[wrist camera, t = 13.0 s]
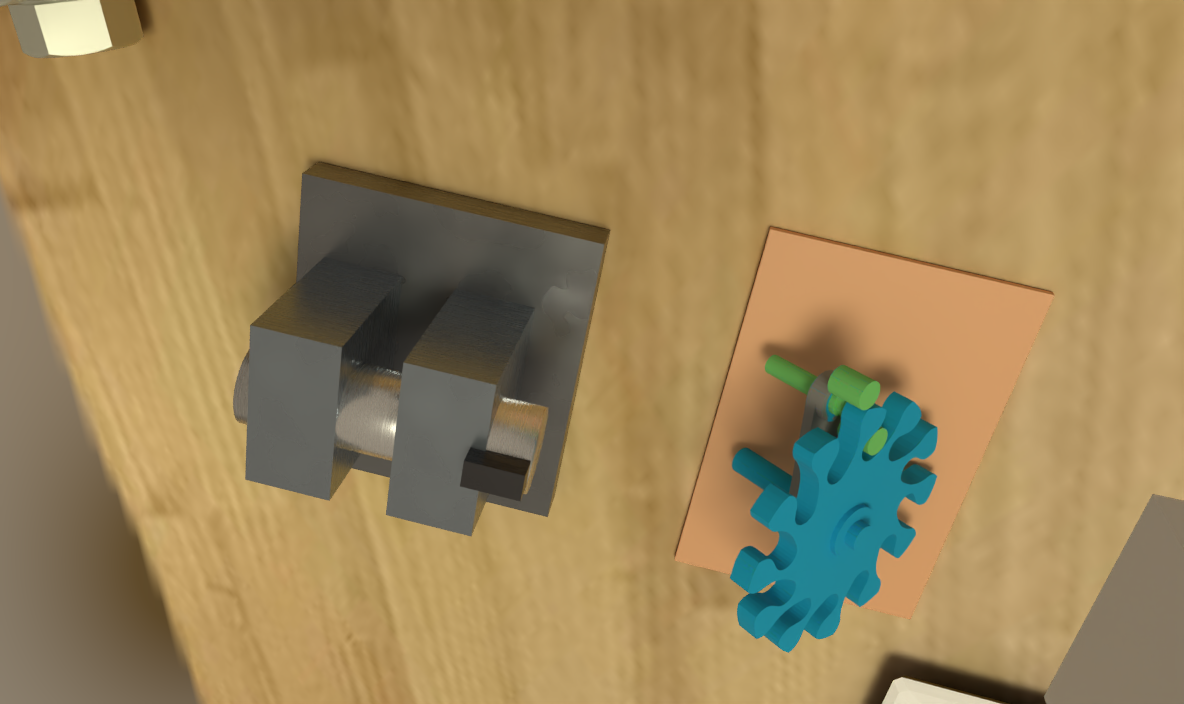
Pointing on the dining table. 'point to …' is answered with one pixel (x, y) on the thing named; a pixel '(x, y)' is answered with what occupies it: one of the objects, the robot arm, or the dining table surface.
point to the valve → (74, 26)
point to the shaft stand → (421, 349)
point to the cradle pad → (879, 351)
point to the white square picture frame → (930, 694)
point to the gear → (830, 503)
